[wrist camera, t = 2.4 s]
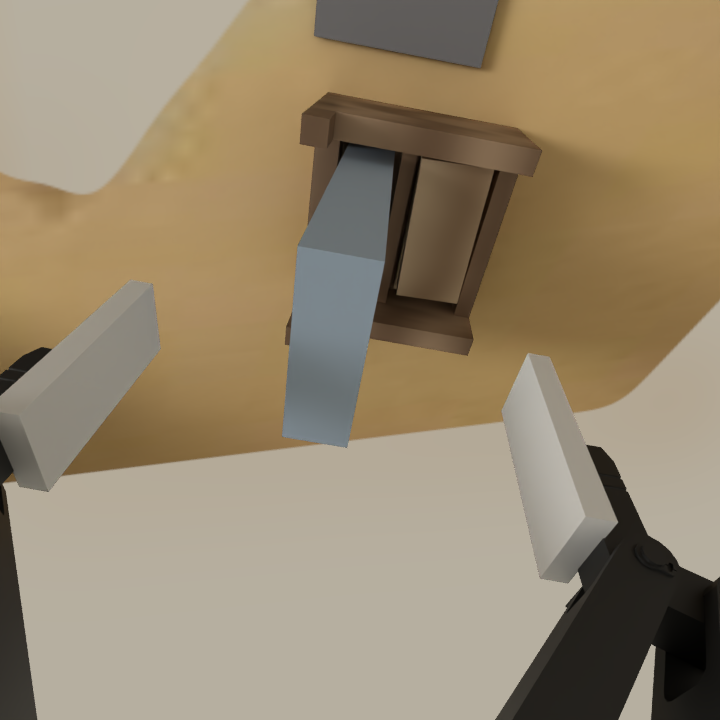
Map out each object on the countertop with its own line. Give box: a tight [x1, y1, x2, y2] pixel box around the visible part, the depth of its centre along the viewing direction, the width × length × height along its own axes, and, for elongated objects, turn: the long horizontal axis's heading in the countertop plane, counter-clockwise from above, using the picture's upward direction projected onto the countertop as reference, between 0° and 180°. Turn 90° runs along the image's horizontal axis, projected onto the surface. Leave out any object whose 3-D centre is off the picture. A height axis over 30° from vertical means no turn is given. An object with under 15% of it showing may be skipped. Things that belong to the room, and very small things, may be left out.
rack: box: [285, 92, 542, 356], centre depth 27 cm, size 11×12×8 cm
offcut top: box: [396, 156, 494, 304], centre depth 27 cm, size 4×8×2 cm, turn 173°
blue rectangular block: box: [282, 142, 395, 448], centre depth 22 cm, size 3×8×16 cm, turn 171°
